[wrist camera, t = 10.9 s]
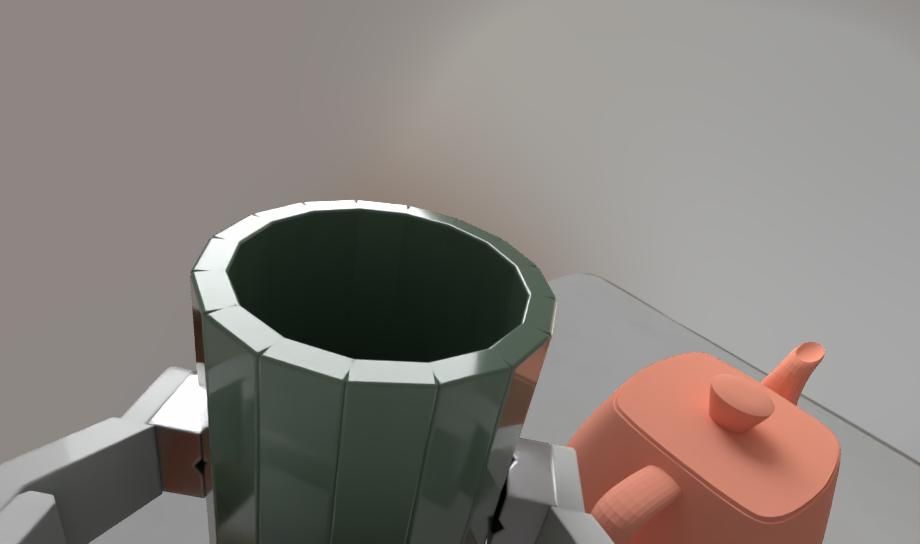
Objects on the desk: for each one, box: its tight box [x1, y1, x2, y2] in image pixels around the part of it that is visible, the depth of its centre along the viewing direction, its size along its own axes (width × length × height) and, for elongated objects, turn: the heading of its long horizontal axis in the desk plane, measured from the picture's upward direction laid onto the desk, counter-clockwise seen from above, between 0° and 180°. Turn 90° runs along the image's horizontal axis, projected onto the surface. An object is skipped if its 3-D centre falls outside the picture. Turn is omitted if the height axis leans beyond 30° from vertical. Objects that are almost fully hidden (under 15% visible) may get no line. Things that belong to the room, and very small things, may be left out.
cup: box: [190, 200, 557, 544], centre depth 11 cm, size 6×6×10 cm
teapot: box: [566, 342, 841, 544], centre depth 27 cm, size 20×12×12 cm, turn 129°
